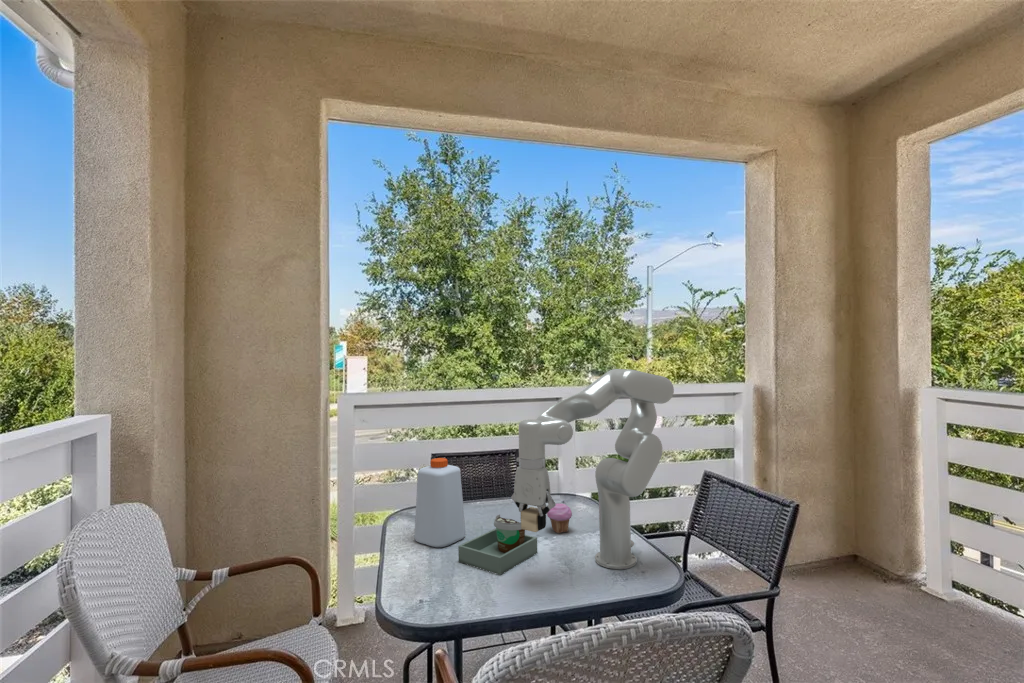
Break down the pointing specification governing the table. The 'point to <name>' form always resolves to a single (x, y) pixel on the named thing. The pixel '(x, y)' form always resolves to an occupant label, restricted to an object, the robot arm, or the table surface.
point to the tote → (495, 553)
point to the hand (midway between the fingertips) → (533, 526)
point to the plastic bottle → (439, 505)
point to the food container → (508, 534)
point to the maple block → (530, 519)
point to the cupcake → (560, 517)
